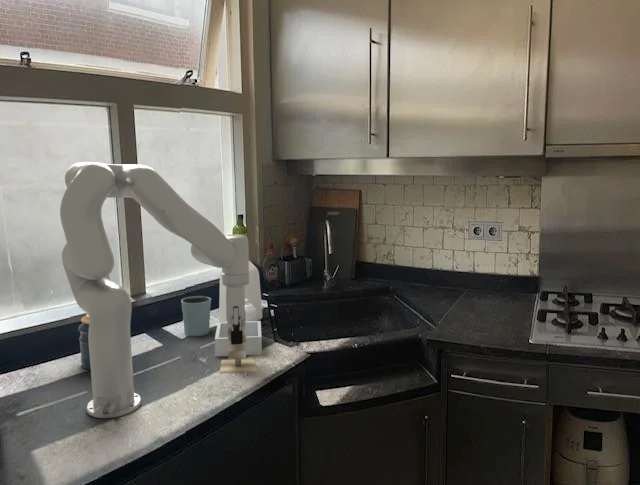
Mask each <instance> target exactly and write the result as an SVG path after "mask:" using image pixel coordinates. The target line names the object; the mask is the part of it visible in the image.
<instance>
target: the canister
mask: <svg viewBox="0 0 640 485" xmlns="http://www.w3.org/2000/svg"><path fill="white" fill-rule="evenodd" d="M80 322H81V324H79V326H78V328H77V330H78V331H79V332H80V336H79V339H78V340H79V347H80V348H79V349H80V363H81V365H82V366H81V367H82V368H83V369H85V370H88V371H91V365H90V352H89V340H88V333H89V314H87V313H86V314H85V315H84V316H83V317H81V319H80Z"/></svg>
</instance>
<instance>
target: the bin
mask: <svg viewBox="0 0 640 485" xmlns="http://www.w3.org/2000/svg"><path fill="white" fill-rule="evenodd" d="M262 339H263V338H262V322H261V320H257V321H246V356H253V355H254V356H255V355H263V349H262V348H263V345H262V343H263V342H262V341H263V340H262ZM214 355H215V357H228V325H227V322H221V323H219V322H217V326H216V331H215V336H214Z"/></svg>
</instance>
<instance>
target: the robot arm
mask: <svg viewBox="0 0 640 485" xmlns="http://www.w3.org/2000/svg"><path fill="white" fill-rule="evenodd" d="M64 183H65V186H66V190H65V191H64V193H63V196H62V199H61V203H60V206H59V207H60V208H59V215H60V216H59V217H60V222H61V225H62V230H63V233H64V238H65V240H66V243H65V245H64V246H63V249H62V252H61V259H62V261H61V262H62V265H63V268H64V269H63V270H64V271H65V274H66V277H67V281H68V283H69V286H70V288H71V292H72V296H73V297H74V299H75V302H76V304H77V305H78V307H79V308H80V309H81V310H82V311H83V312H84V313H86V314H89V333H88V340H89V352H90V365H91V370H90V375H91V376H90V378H91V389H92V390H91V391H92V399H91V400H90V401H89V402H88V403H87V405H86V412H87V414H88V415H89V416H91V417H93V418H98V419H112V418H113V419H114V418H117V417H118V418H119V417H123V416H126V415H129V414H131V413H133V412H134V411H136V410H137V409H138V408H140V406H141V404H142V397H141V396H140V395H139V394H138V393H136V392H135V388H134V387H135V386H134V371H133V368H134V367H133V357H132V356H133V352H132V342H131V338H132V337H131V320H132V318H131V317H132V310H133V308H132V304H133V303H132V300H131V297H130V294H129V293H128V291H127V290H126V289H125V288H124V287H123V286H121V285H120V284H118V283H116V282H114V281H113V280H111V276H110V275H111V273H112V271H113V270H114V267H115V256H114V254H113V251H112V248H111V245H110V242H109V239H108V236H107V232H106V230H105V226H104V221H103V217H102V208H103V206H104V203H105V201H106V199H107V198H111V199H112V198H113V199H115V198H117V199H118V198H120V199H121V198H124V199H125V198H130V199H133V200H134V201H135V202H136V203H137V204H139V206H141V208H142V209H144V210H145V211H146V212H147V213H148V214H149V215H150V216H151V217H153V219H154V220H155V221H156V222H157V223H158V224H159V225H160V226H161V227H163V228H164V229H165V230H167V231H168V232H170V233H171V234H174V235H175V236H178V237H180V238H182V239H183V240H185V241H186V242H188V243H190V244H191V246H190V252H191V256H192V258H193V259H194V260H196V261H197V262H200V263H202V264H204V265H207V266H211V267H215V268H219V269H221V272H222V284H223V285H224V286H226V320H227V321H229V320H231V328H232V330H231V344H242V343H243V335H242V330H241V320H243V319H244V310H245V285H248V284H249V261H250V257H249V256H250V255H249V254H250V252H249V239H248V237H247V236H246V235H243V234H240V233H239V234H238V233H237V234H228V235H227V234H226V235H225V234H224V233H223V232H222V231H221V230H220V229H219V228H218V227H217V226H215V224H213V222H211V221H210V220H209V219H207V218H206V217H205V216H204V215H202V214H201V213H200V212H198V211H197V210H196V209H195V208H193V207H191V205H190V204H189V203H187V202H186V201H185V200H184V199H183V198H182V197H181V196H180V194H178V193H177V192H176V191H175V190H174V188H172V186H171V185H170V184H169V183H168V182H167V181H166V180H165V179H164V178H163V177H162V176H161V175H160V174H159V173H158V172H157V171H156V170H155V169H154V168H152V167H151V166H148V165H144V164H116V163H115V164H114V163H112V164H111V163H110V164H109V163H102V162H97V161H96V162H93V161H82V162H81V161H80V162H76V163H74V164H72V165H71V166H70V167H69V168H68V169H67V170H66V172H65V175H64ZM238 311H239V312H238ZM238 317H240V319H238ZM233 318H234V320H233ZM233 322H234V323H233ZM238 322H239V323H238ZM239 329H240V330H239Z"/></svg>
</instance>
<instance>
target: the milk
mask: <svg viewBox="0 0 640 485" xmlns="http://www.w3.org/2000/svg"><path fill="white" fill-rule="evenodd" d="M260 280H261V279H260V271H259V270H258V268H257V267H256V266H255V264H253V263H252V262H251V260H249V284H248V285H245V299H247V300H248V303H249V304H252V305H253V306H254V307H255V308H256V311H257V315H256V318H255V320H254V321H260V320H262V318H263V308H262V306H263V305H262V295H261V294H262V293H261V282H260ZM218 295H219V298H218V299H219V300H218V301H219V302H218V304H219V306H218V307H219V308H218V309H219V310H218V323H221V322H227V320H226V286H224V285H223V284H222V271H221V272H220V273H219V294H218Z"/></svg>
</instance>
